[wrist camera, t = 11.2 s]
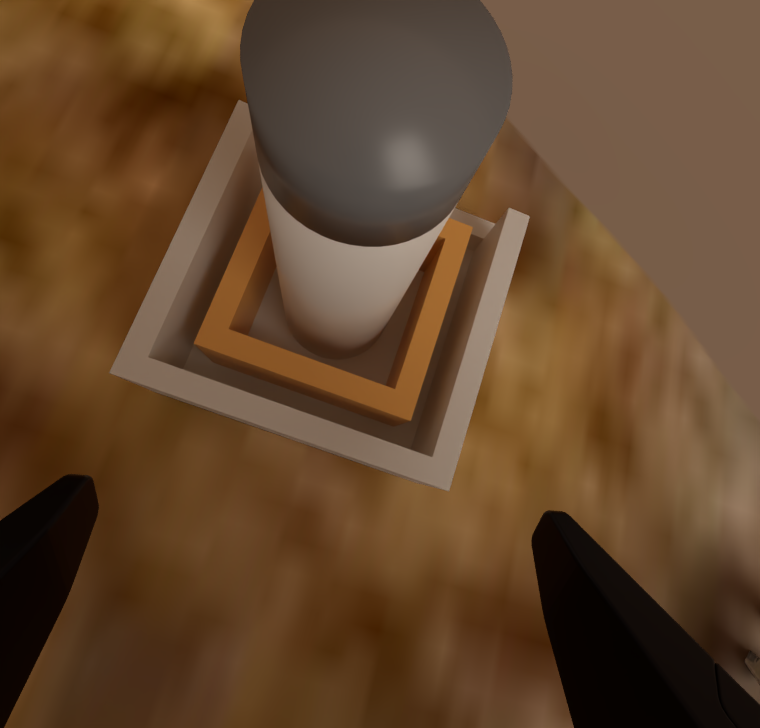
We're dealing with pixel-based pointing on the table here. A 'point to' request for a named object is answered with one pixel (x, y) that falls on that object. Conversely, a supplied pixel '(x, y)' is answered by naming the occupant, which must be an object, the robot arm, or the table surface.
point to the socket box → (296, 364)
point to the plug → (366, 146)
